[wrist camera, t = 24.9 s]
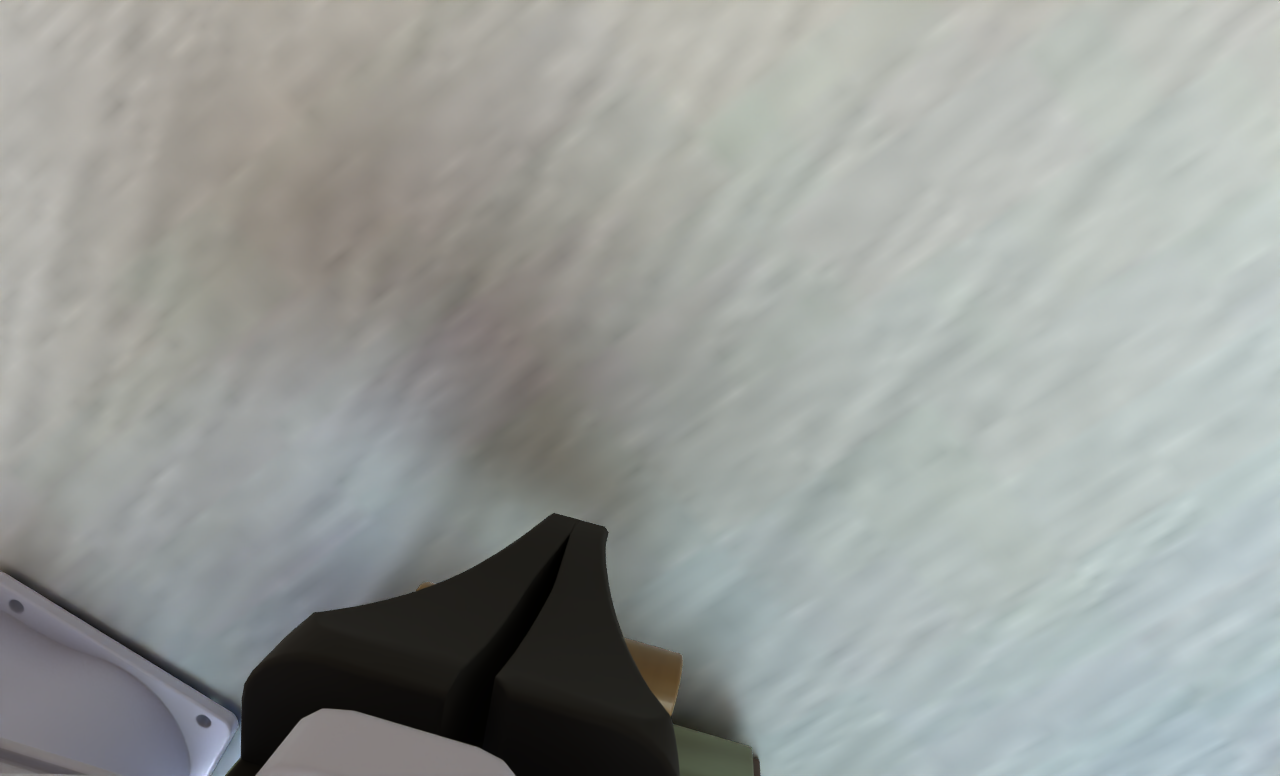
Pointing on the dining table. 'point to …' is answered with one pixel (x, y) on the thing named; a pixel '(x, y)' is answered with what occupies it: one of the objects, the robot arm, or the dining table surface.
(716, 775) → the drawer
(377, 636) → the robot arm
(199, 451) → the dining table surface
